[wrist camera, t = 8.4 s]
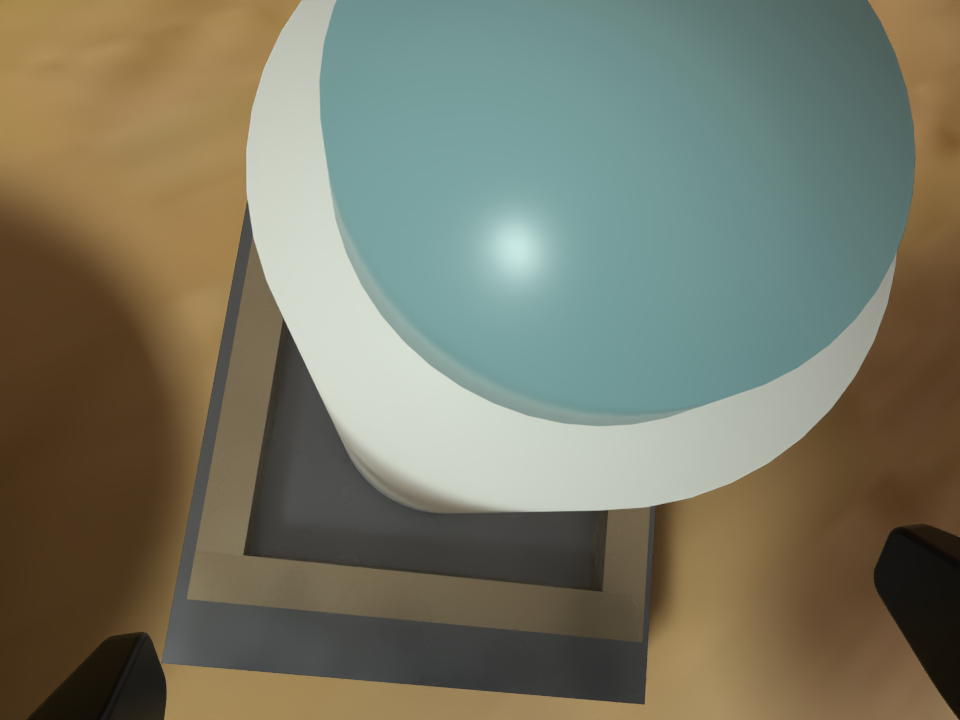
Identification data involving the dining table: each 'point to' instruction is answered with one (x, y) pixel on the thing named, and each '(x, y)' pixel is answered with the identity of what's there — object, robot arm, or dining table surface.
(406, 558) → the grey rectangular tray
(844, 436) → the dining table surface
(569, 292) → the white canister
